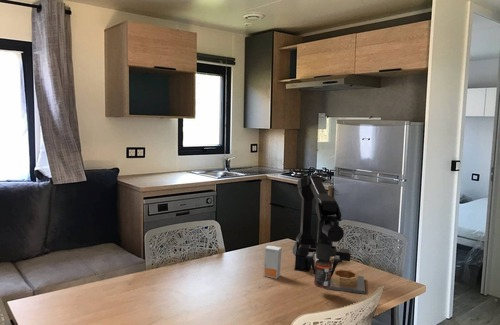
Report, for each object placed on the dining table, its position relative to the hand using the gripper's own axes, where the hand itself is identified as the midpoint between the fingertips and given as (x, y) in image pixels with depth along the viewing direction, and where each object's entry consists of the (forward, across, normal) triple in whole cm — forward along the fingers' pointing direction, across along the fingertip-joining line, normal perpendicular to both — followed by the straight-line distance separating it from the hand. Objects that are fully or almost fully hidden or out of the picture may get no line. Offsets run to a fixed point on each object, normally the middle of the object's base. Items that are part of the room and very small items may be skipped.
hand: (322, 274), depth 148 cm
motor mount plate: (+7, +8, +13) cm, 17 cm away
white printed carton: (+8, -2, +39) cm, 40 cm away
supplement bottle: (+4, 0, 0) cm, 4 cm away
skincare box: (+8, -21, +11) cm, 25 cm away
